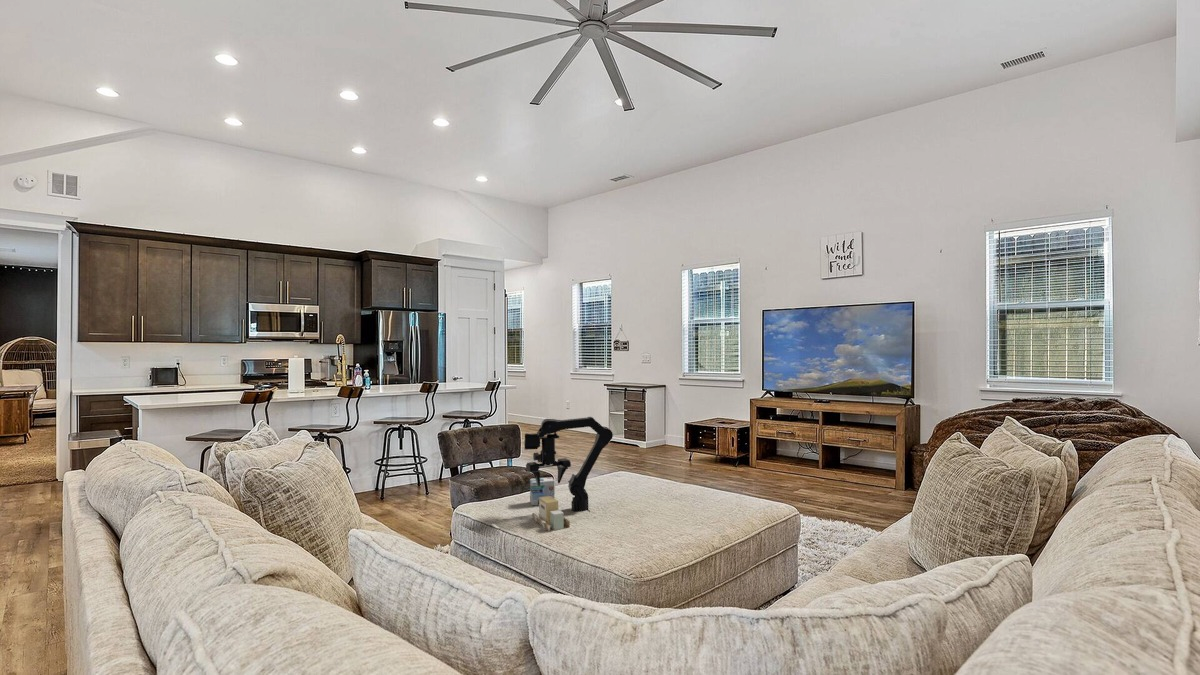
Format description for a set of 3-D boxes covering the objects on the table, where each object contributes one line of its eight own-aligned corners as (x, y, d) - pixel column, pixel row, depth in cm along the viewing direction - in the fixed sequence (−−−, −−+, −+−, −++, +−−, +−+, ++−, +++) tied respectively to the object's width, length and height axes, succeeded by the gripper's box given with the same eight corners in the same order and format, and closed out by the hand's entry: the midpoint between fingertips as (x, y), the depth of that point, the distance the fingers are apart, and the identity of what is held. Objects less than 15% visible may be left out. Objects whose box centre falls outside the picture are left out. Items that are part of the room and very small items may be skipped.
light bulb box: (532, 506, 267) (531, 482, 267) (529, 501, 273) (529, 478, 273) (555, 504, 270) (555, 480, 269) (552, 499, 276) (552, 476, 276)
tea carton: (558, 523, 240) (558, 501, 240) (546, 525, 238) (546, 502, 238) (550, 517, 248) (550, 495, 248) (539, 519, 246) (538, 497, 245)
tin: (559, 525, 238) (559, 509, 237) (563, 528, 234) (563, 512, 234) (550, 527, 236) (550, 511, 236) (554, 530, 232) (554, 514, 232)
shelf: (569, 529, 235) (569, 521, 235) (547, 533, 231) (547, 524, 231) (552, 516, 251) (552, 508, 251) (531, 520, 247) (531, 512, 247)
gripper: (561, 443, 267) (561, 477, 267) (521, 447, 258) (522, 483, 259) (571, 447, 257) (571, 483, 257) (530, 452, 248) (530, 489, 249)
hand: (548, 484), depth 256 cm, fingers open, 9 cm apart
